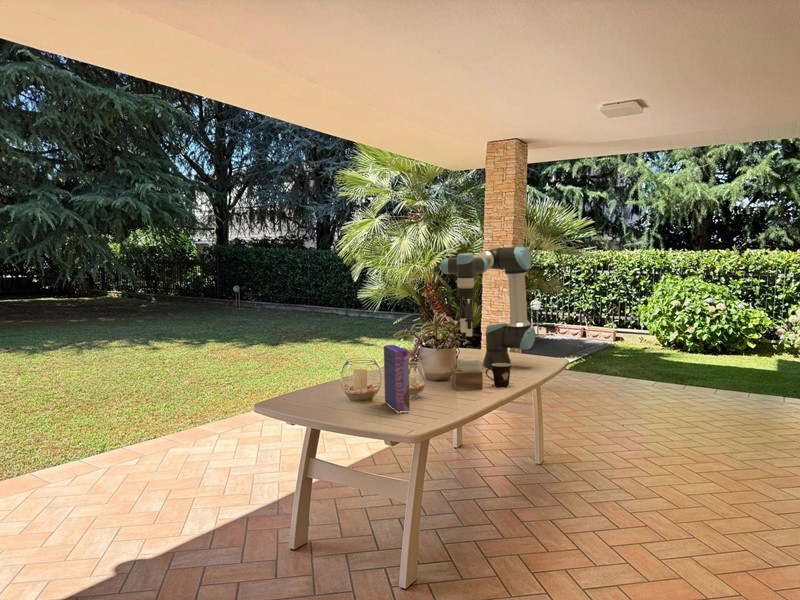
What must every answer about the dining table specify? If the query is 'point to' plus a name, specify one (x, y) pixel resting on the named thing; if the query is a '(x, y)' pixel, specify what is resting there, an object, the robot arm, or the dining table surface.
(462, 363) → the small box
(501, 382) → the coffee mug
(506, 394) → the dining table surface
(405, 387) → the cereal box
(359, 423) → the dining table surface
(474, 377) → the walnut block
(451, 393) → the dining table surface
